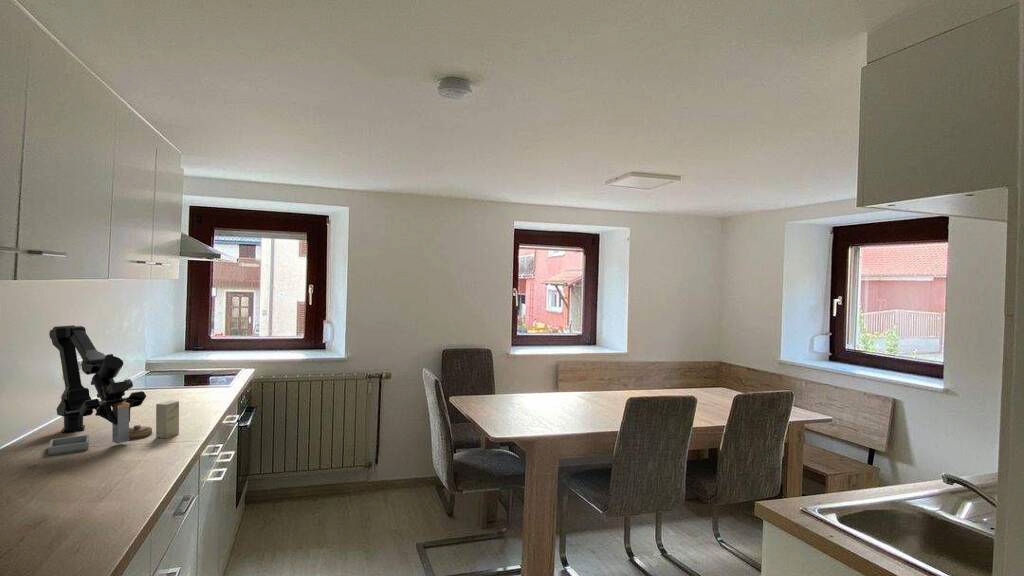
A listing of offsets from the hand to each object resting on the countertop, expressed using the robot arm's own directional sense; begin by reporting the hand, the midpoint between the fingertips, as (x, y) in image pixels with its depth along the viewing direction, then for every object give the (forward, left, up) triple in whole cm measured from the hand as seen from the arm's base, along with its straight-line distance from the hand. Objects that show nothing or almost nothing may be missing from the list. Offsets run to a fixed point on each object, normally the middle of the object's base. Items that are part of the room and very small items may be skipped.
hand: (122, 423), depth 189 cm
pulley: (-11, +4, -8) cm, 14 cm away
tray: (-6, -15, -8) cm, 18 cm away
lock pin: (-1, -1, -7) cm, 7 cm away
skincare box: (-5, +13, -8) cm, 16 cm away
